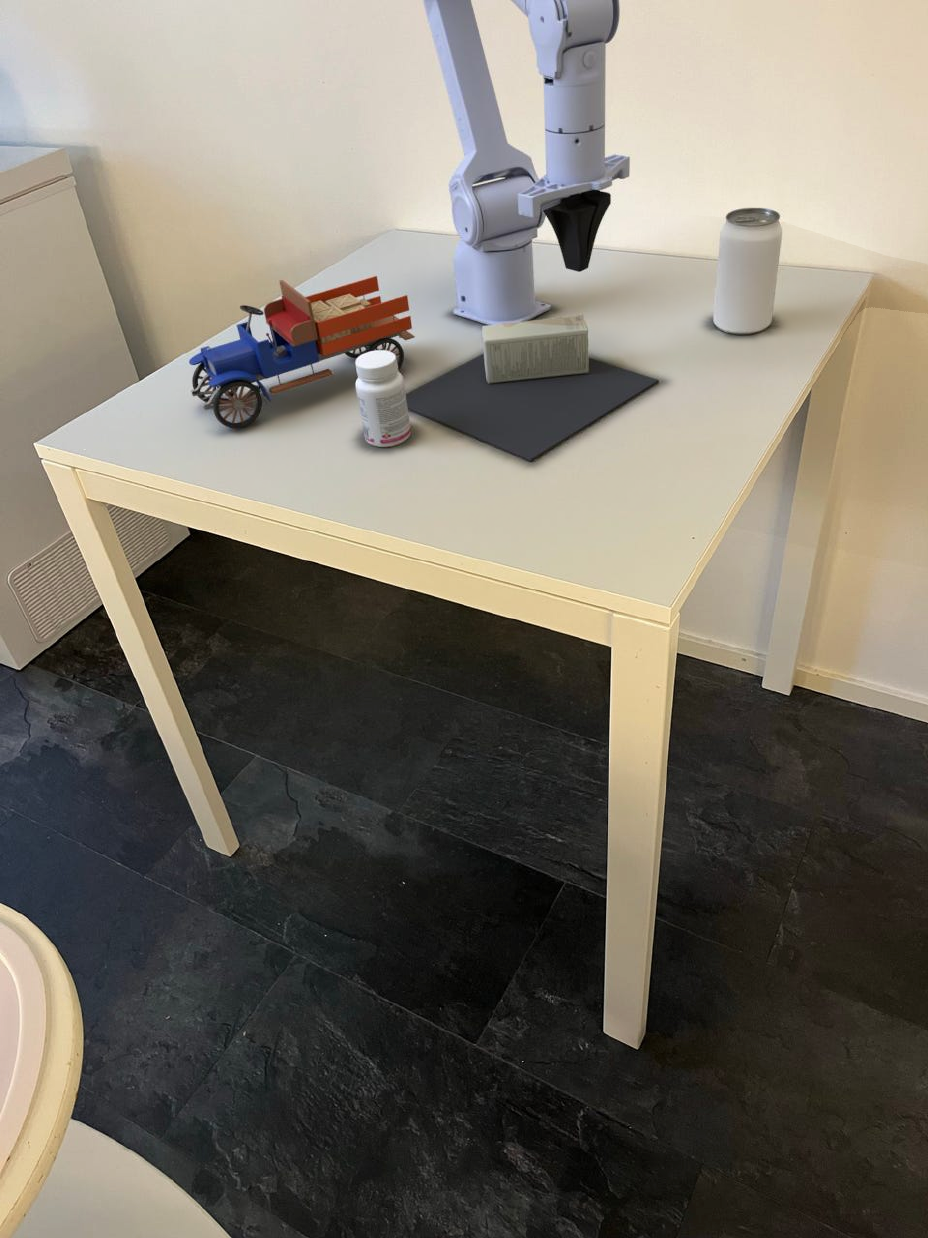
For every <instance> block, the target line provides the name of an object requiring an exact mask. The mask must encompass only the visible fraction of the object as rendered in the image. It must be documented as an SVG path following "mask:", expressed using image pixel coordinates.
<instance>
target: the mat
mask: <svg viewBox="0 0 928 1238" xmlns="http://www.w3.org/2000/svg"><path fill="white" fill-rule="evenodd" d="M588 367H589V373H584V374H575V375H565V376H555V377H545V378H536V379H527V380H518V381H508V382H499V383H491V384H488V382H487V379H486V371H485V361H484V353H482V354H480V355H477V356H476V357H474V358H471V359H470V360H469V361H466V362H465V363H463V364H461V365H459V366H457V367H455V368H453V369H451V370H449V371H448V372H445V373H444V374H442V375H439V376H438V377H436V378H434V379H431V380H430V381H428V382H426V383H424V384H422V385H420V386H418V387H417V388H415V389H413V390H411V391H409V392H407V393H406V400H407V407H408V411H410V412H411V413H414V414H416V415H419V416H421V417H424V418H426V419H428V420H431V421H432V422H435V423H438V424H440V425H442V426H444V427H447V428H449V429H452V430H454V431H456V432H459V433H461V434H463V435H465V436H468V437H470V438H473V439H475V440H478V441H480V442H482V443H485V444H487V445H490V446H492V447H493V448H496V449H498V450H501V451H503V452H505V453H508V454H510V455H513V456H515V457H518V458H520V459H522V460H524V461H527V462H528V463H531V462H532V463H533V461H535V460H537V459H538V458H540V457H542V456H543V455H545V454H546V453H548V452H549V451H551V450H552V449H554V448H556V447H558V446H559V445H561V444H562V443H564V442H565V441H567V440H568V439H571V438H572V437H573V436H575V435H577V434H578V433H580V432H582V431H583V430H585V429H586V428H588V427H589V426H591V425H593V424H594V423H596V422H597V421H599V420H601V419H602V418H604V417H605V416H607V415H609V414H610V413H612V412H614V411H615V410H617V409H619V408H620V407H622V406H623V405H625V404H626V403H628V402H630V401H632V400H633V399H634V398H636V397H637V396H639V395H641V394H642V393H644V392H646V391H648V390H649V389H650V388H652V387H654V386H656V385H657V384H658V383H660V382H659V381H660V380H659V379H657V378H654V377H651V376H648V375H646V374H645V375H644V374H642V373H640V372H639V373H638V372H635V371H632V370H629V369H626V368H624V367H620V366H617V365H614V364H612V363H608V362H605V361H601V360H598V359H596V358H592V357H589V364H588Z"/></svg>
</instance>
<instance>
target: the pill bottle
mask: <svg viewBox="0 0 928 1238" xmlns="http://www.w3.org/2000/svg"><path fill="white" fill-rule="evenodd" d="M390 351H391V350H389V351H387V350H386V349H385V350H380V349H378V350H377V351H370V352H367V353H364V354H362V355H360V356H359V357H358V358H355V361H354V363H355V364H354V365H355V370H356V374H357V379H356V381H355V392H356V397H357V403H358V409H359V415H360V421H361V426H362V431H363V437H364V440H365V441H366V443H368V444H369V445H371V446H374V447H380V448H388V447H394V446H398V445H400V444H402V443H404V442H405V441H406V440H407V439H409V437H410V436H411V433H412V429H411V421H410V413H409V410H408V407H407V400H406V394H407V393H406V388H405V387H406V386H405V380H404V376H403V374H401V372H400V371H398V364H397V361H398V359H397V356H396V355H395V354H396V353H394V352H393V353H392V352H390Z"/></svg>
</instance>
